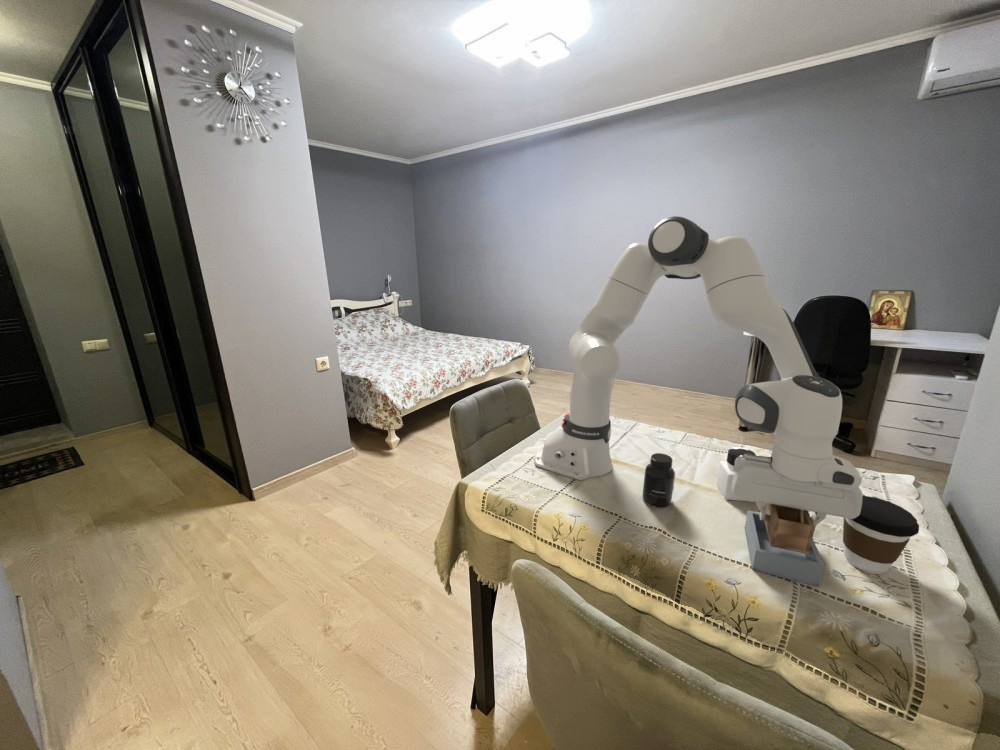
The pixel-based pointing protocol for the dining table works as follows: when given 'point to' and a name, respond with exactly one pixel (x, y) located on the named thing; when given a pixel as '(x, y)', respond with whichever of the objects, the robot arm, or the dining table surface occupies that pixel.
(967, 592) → the dining table surface
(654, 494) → the supplement bottle
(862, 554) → the coffee cup
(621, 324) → the robot arm
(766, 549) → the grey crate
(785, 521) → the walnut crate
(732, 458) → the medicine bottle
